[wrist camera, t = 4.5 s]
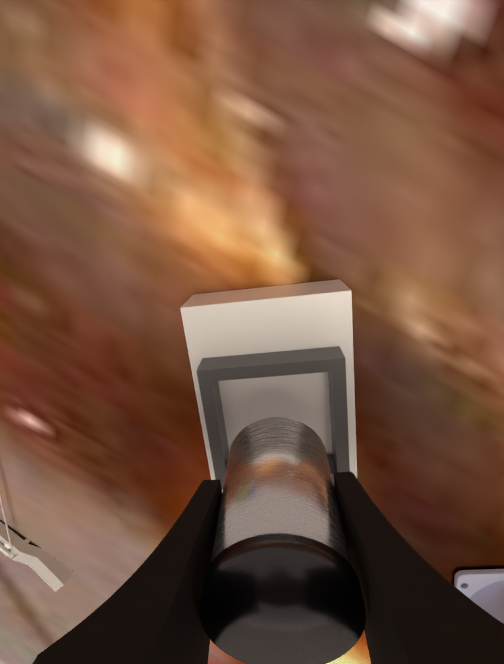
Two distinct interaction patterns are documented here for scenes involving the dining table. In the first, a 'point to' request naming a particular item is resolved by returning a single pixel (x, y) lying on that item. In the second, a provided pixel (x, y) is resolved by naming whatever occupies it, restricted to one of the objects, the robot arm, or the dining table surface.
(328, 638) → the lens
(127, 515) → the dining table surface
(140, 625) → the robot arm
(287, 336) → the camera body
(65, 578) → the crossbow
